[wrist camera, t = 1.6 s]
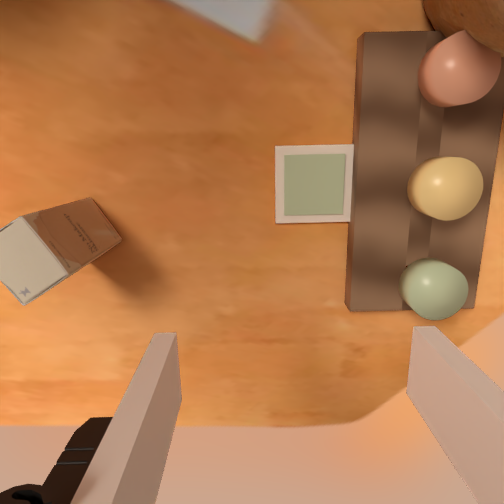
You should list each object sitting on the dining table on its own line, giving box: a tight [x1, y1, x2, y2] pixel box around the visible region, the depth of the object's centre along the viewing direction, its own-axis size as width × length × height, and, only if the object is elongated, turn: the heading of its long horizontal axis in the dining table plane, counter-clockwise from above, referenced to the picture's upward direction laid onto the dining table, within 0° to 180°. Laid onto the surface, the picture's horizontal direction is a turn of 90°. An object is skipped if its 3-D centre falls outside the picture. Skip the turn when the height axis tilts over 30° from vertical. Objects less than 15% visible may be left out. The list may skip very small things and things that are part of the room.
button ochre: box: [407, 156, 483, 221], centre depth 31 cm, size 5×5×5 cm
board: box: [345, 31, 504, 311], centre depth 34 cm, size 24×12×2 cm, turn 1°
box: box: [0, 198, 122, 306], centre depth 30 cm, size 5×4×11 cm
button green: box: [399, 257, 468, 320], centre depth 33 cm, size 5×5×5 cm
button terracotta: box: [418, 30, 501, 107], centre depth 28 cm, size 5×5×5 cm
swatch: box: [275, 144, 354, 223], centre depth 34 cm, size 7×7×1 cm
